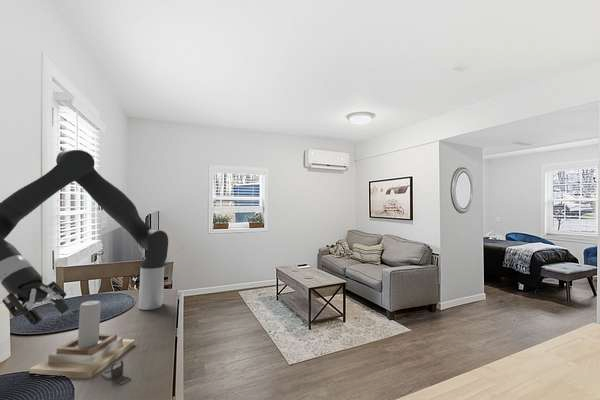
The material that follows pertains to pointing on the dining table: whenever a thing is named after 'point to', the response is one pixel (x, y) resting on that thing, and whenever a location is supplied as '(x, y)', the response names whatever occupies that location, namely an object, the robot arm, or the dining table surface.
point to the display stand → (83, 357)
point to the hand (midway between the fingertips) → (52, 316)
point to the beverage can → (89, 324)
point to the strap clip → (116, 374)
